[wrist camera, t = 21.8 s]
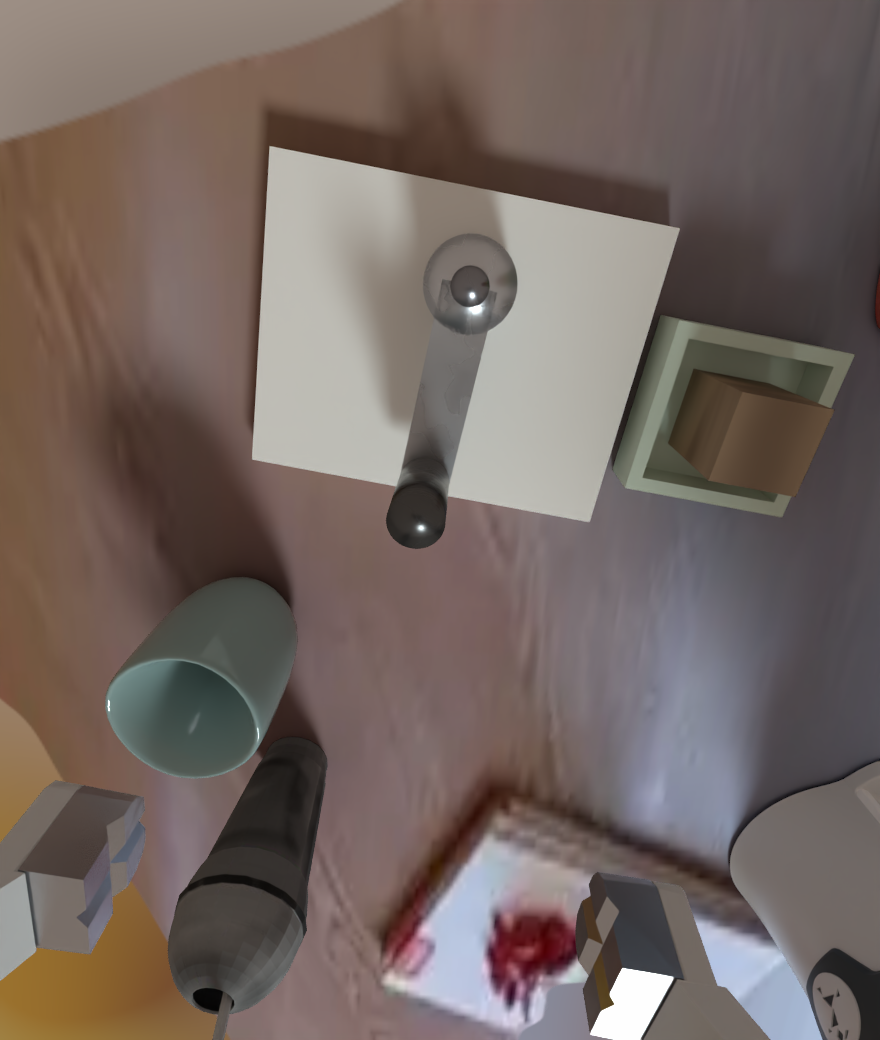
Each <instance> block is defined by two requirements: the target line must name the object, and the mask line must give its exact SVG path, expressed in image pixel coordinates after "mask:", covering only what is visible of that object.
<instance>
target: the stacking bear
mask: <svg viewBox="0 0 880 1040" xmlns="http://www.w3.org/2000/svg"><path fill="white" fill-rule="evenodd" d="M875 315H876V322H877V326H878V328H879V329H880V274H879V280H878V285H877V293H876V305H875Z"/></svg>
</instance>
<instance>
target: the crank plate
mask: <svg viewBox="0 0 880 1040" xmlns="http://www.w3.org/2000/svg"><path fill="white" fill-rule="evenodd" d="M679 230H680V228H676V227H671V226H666V225H661V224H656V223H651V222H646V221H641V220H636V219H631V218H626V217H621V216H616V215H611V214H606V213H601V212H596V211H591V210H586V209H581V208H576V207H571V206H566V205H561V204H556V203H551V202H546V201H541V200H536V199H531V198H526V197H521V196H516V195H511V194H506V193H501V192H496V191H491V190H486V189H481V188H476V187H471V186H466V185H461V184H456V183H451V182H446V181H441V180H437V179H432V178H427V177H422V176H417V175H412V174H407V173H402V172H397V171H392V170H387V169H382V168H377V167H372V166H367V165H362V164H357V163H352V162H347V161H342V160H337V159H332V158H327V157H322V156H317V155H312V154H307V153H302V152H297V151H292V150H287V149H282V148H277V147H272V146H270V149H269V167H268V184H267V202H266V220H265V238H264V256H263V273H262V291H261V309H260V327H259V345H258V362H257V380H256V398H255V416H254V434H253V451H252V460H258V461H263V462H268V463H274V464H279V465H285V466H290V467H295V468H301V469H306V470H311V471H317V472H322V473H328V474H333V475H338V476H344V477H349V478H354V479H360V480H365V481H371V482H376V483H381V484H387V485H392V486H397V483H398V480H399V477H400V473H401V469H402V464H403V460H404V455H405V450H406V446H407V441H408V436H409V432H410V427H411V422H412V418H413V413H414V409H415V404H416V399H417V395H418V390H419V385H420V381H421V376H422V371H423V367H424V362H425V358H426V353H427V348H428V344H429V339H430V334H431V330H432V325H433V320H434V317H433V315H432V314H431V312H430V311H429V309H428V307H427V304H426V301H425V298H424V293H423V278H424V272H425V269H426V266H427V263H428V261H429V259H430V258H431V256H432V254H433V253H434V252H435V250H436V249H437V248H438V247H439V246H440V245H441V244H443V243H444V242H445V241H447V240H449V239H450V238H453V237H455V236H458V235H461V234H468V233H473V234H481V235H484V236H487V237H490V238H492V239H494V240H495V241H497V242H498V243H499V244H500V245H502V246H503V247H504V248H505V250H506V251H507V252H508V253H509V255H510V257H511V258H512V261H513V263H514V265H515V269H516V273H517V281H518V286H517V294H516V298H515V301H514V304H513V306H512V308H511V310H510V312H509V313H508V315H507V316H506V317H505V318H504V320H503V321H502V322H501V323H499V324H498V325H497V326H496V327H494V328H492V329H491V330H489V331H488V332H487V336H486V340H485V344H484V348H483V352H482V356H481V360H480V364H479V368H478V372H477V376H476V380H475V384H474V388H473V392H472V396H471V400H470V404H469V408H468V412H467V416H466V420H465V424H464V428H463V431H462V435H461V439H460V443H459V447H458V451H457V455H456V459H455V463H454V467H453V471H452V475H451V479H450V483H449V490H448V496H451V497H456V498H462V499H467V500H473V501H478V502H483V503H489V504H494V505H499V506H505V507H510V508H516V509H521V510H526V511H532V512H537V513H542V514H548V515H553V516H559V517H564V518H569V519H575V520H580V521H585V522H590V519H591V516H592V513H593V509H594V506H595V503H596V500H597V496H598V493H599V490H600V487H601V483H602V480H603V477H604V474H605V470H606V467H607V464H608V461H609V457H610V454H611V451H612V448H613V444H614V441H615V438H616V435H617V431H618V428H619V425H620V422H621V418H622V415H623V412H624V409H625V405H626V402H627V399H628V396H629V392H630V389H631V386H632V383H633V379H634V376H635V373H636V370H637V366H638V363H639V360H640V357H641V353H642V350H643V347H644V344H645V340H646V337H647V334H648V331H649V327H650V324H651V321H652V318H653V314H654V311H655V308H656V305H657V301H658V298H659V295H660V292H661V288H662V285H663V282H664V279H665V275H666V272H667V269H668V266H669V263H670V259H671V256H672V253H673V250H674V246H675V243H676V240H677V237H678V233H679Z"/></svg>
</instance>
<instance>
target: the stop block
mask: <svg viewBox="0 0 880 1040" xmlns="http://www.w3.org/2000/svg"><path fill="white" fill-rule="evenodd" d="M833 413H834V410H833V409H831V408H829V407H826V406H824V405H821V404H819V403H816V402H814V401H811V400H809V399H807V398H804V397H802V396H799V395H797V394H794V393H792V392H789V391H787V390H784V389H782V388H780V387H777V386H775V385H772V384H770V383H765V382H760V381H755V380H749V379H744V378H739V377H734V376H729V375H724V374H719V373H713V372H708V371H703V370H698V369H693V372H692V375H691V378H690V381H689V384H688V386H687V389H686V392H685V395H684V398H683V401H682V404H681V407H680V410H679V412H678V415H677V418H676V421H675V424H674V427H673V430H672V433H671V436H670V439H669V441H668V444H669V445H670V446H671V447H673V448H674V449H675V450H676V451H677V452H678V453H679V454H680V455H681V456H682V457H683V458H684V459H686V460H687V461H688V462H689V463H690V464H691V465H692V466H693V467H694V468H695V469H696V470H697V471H699V472H700V473H701V474H702V475H703V476H704V477H705V478H706V479H707V480H708V481H713V482H718V483H723V484H729V485H734V486H739V487H745V488H750V489H755V490H761V491H766V492H771V493H776V494H782V495H787V496H792V497H796V495H797V492H798V490H799V488H800V486H801V483H802V481H803V479H804V477H805V475H806V472H807V470H808V468H809V466H810V464H811V461H812V459H813V457H814V455H815V452H816V450H817V448H818V446H819V444H820V441H821V439H822V437H823V435H824V433H825V430H826V428H827V426H828V424H829V421H830V419H831V417H832V415H833Z"/></svg>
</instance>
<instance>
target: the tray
mask: <svg viewBox="0 0 880 1040" xmlns="http://www.w3.org/2000/svg"><path fill="white" fill-rule="evenodd" d="M854 356H855V355H854V354H850V353H846V352H842V351H838V350H834V349H830V348H826V347H821V346H816V345H811V344H806V343H801V342H796V341H791V340H786V339H781V338H776V337H771V336H766V335H760V334H755V333H750V332H745V331H740V330H735V329H730V328H725V327H720V326H715V325H710V324H705V323H699V322H694V321H689V320H684V319H679V318H674V317H669V316H664V315H660V319H659V322H658V325H657V328H656V331H655V335H654V338H653V341H652V344H651V347H650V351H649V354H648V357H647V360H646V363H645V367H644V370H643V373H642V376H641V379H640V383H639V386H638V389H637V392H636V395H635V399H634V402H633V405H632V408H631V411H630V415H629V418H628V421H627V424H626V427H625V431H624V434H623V437H622V440H621V443H620V447H619V450H618V453H617V456H616V459H615V463H614V466H613V469H612V470H613V471H614V473H615V474H616V476H617V477H618V479H619V480H620V482H621V483H622V484H623V486H624V487H625V488H628V489H633V490H638V491H644V492H649V493H654V494H660V495H665V496H670V497H676V498H681V499H686V500H691V501H697V502H702V503H707V504H713V505H718V506H723V507H729V508H734V509H739V510H745V511H750V512H755V513H761V514H766V515H771V516H777V517H782V516H783V514H784V512H785V510H786V508H787V505H788V503H789V501H790V499H791V496H787V495H782V494H776V493H771V492H766V491H761V490H755V489H750V488H745V487H739V486H734V485H729V484H723V483H718V482H713V481H708V480H707V479H706V478H705V477H704V476H703V475H702V474H701V473H700V472H699V471H697V470H696V469H695V468H694V467H693V466H692V465H691V464H690V463H689V462H688V461H687V460H686V459H684V458H683V457H682V456H681V455H680V454H679V453H678V452H677V451H676V450H675V449H674V448H673V447H671V446H670V445H669V444H668V441H669V439H670V436H671V433H672V430H673V427H674V424H675V421H676V418H677V415H678V412H679V410H680V407H681V404H682V401H683V398H684V395H685V392H686V389H687V386H688V384H689V381H690V378H691V375H692V372H693V369H698V370H703V371H708V372H713V373H719V374H724V375H729V376H734V377H739V378H744V379H749V380H755V381H760V382H765V383H770V384H772V385H775V386H777V387H780V388H782V389H784V390H787V391H789V392H792V393H794V394H797V395H799V396H802V397H804V398H807V399H809V400H811V401H814V402H816V403H819V404H821V405H824V406H826V407H829V408H831V407H832V405H833V403H834V400H835V398H836V396H837V394H838V392H839V389H840V387H841V385H842V383H843V380H844V378H845V376H846V374H847V371H848V369H849V367H850V365H851V363H852V360H853V358H854Z"/></svg>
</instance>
